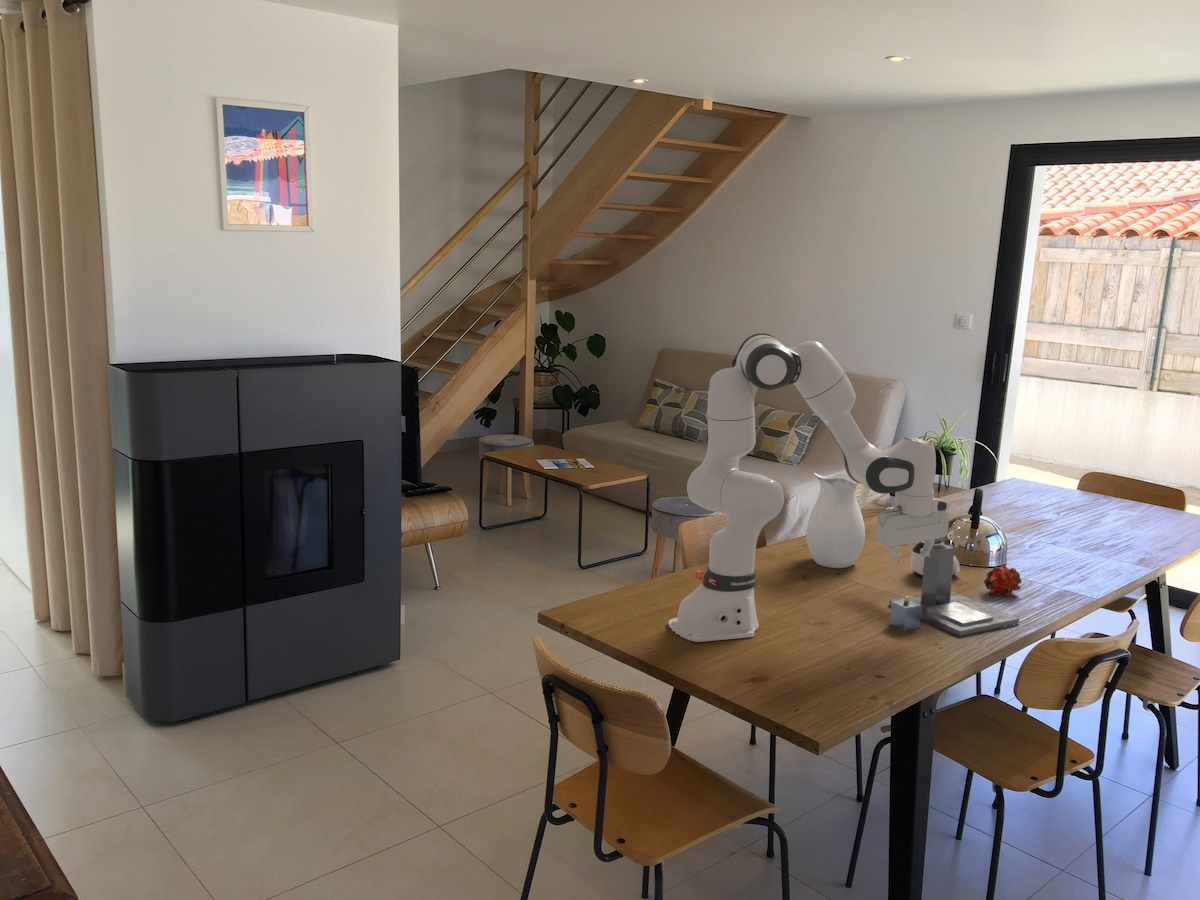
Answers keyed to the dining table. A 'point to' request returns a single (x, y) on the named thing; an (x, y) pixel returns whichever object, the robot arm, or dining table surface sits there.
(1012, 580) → the dragon fruit
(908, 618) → the block
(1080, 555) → the dining table surface
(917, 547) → the spread jar
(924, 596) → the stand
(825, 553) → the pitcher
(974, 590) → the dining table surface
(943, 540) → the lever
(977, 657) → the dining table surface
